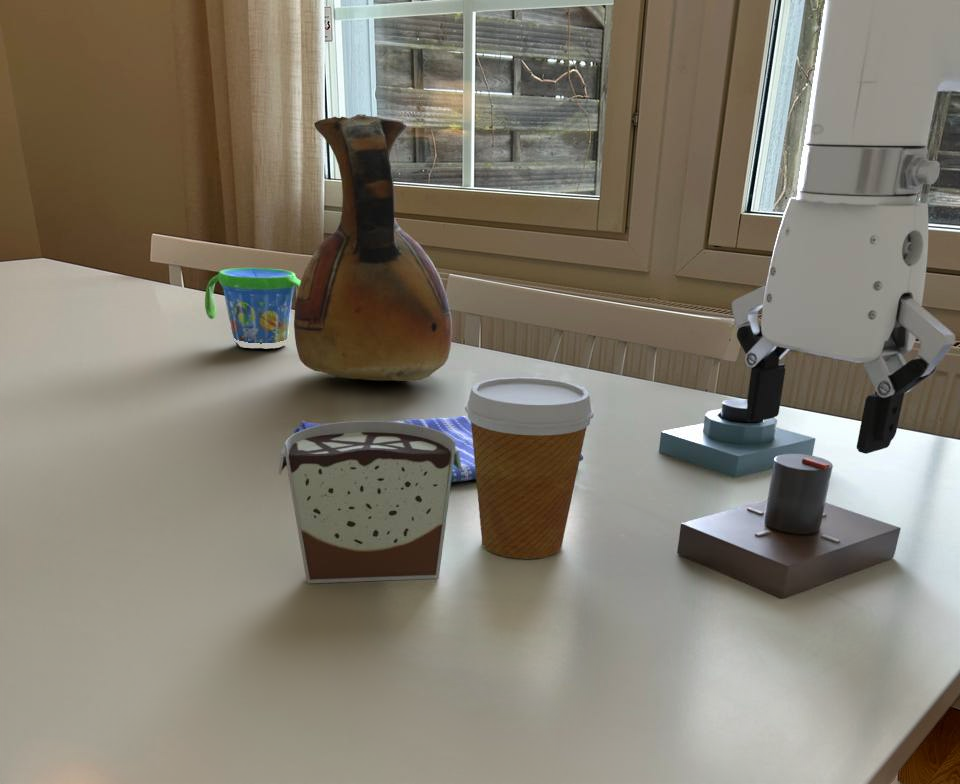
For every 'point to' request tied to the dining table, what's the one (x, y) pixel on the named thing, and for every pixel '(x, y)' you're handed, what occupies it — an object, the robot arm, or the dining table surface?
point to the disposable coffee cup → (526, 460)
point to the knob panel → (786, 547)
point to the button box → (733, 444)
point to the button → (735, 411)
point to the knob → (797, 493)
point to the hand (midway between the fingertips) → (814, 433)
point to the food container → (370, 499)
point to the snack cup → (255, 302)
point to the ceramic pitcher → (370, 273)
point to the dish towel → (452, 427)
